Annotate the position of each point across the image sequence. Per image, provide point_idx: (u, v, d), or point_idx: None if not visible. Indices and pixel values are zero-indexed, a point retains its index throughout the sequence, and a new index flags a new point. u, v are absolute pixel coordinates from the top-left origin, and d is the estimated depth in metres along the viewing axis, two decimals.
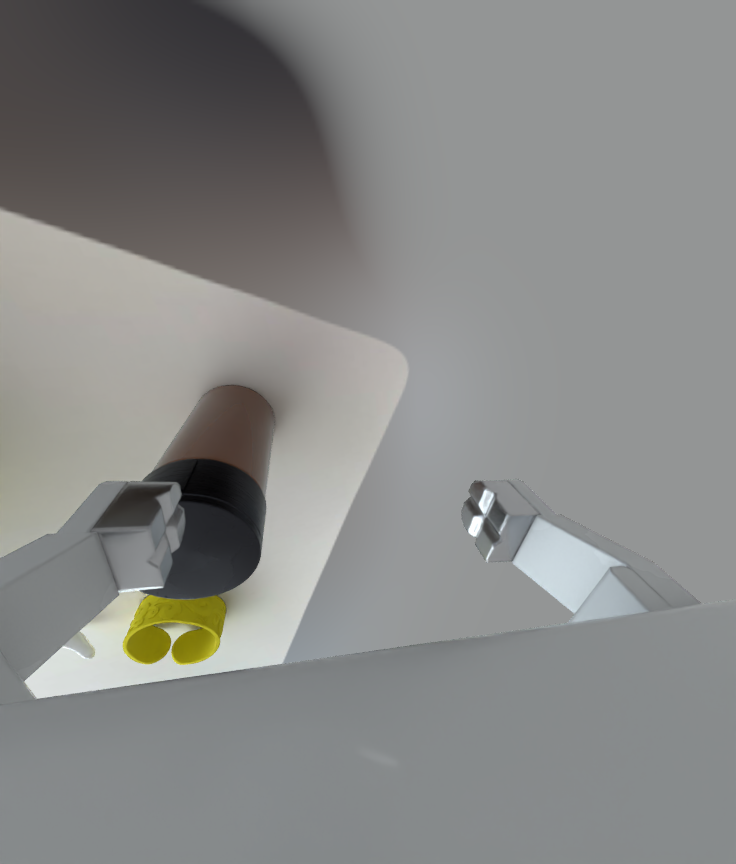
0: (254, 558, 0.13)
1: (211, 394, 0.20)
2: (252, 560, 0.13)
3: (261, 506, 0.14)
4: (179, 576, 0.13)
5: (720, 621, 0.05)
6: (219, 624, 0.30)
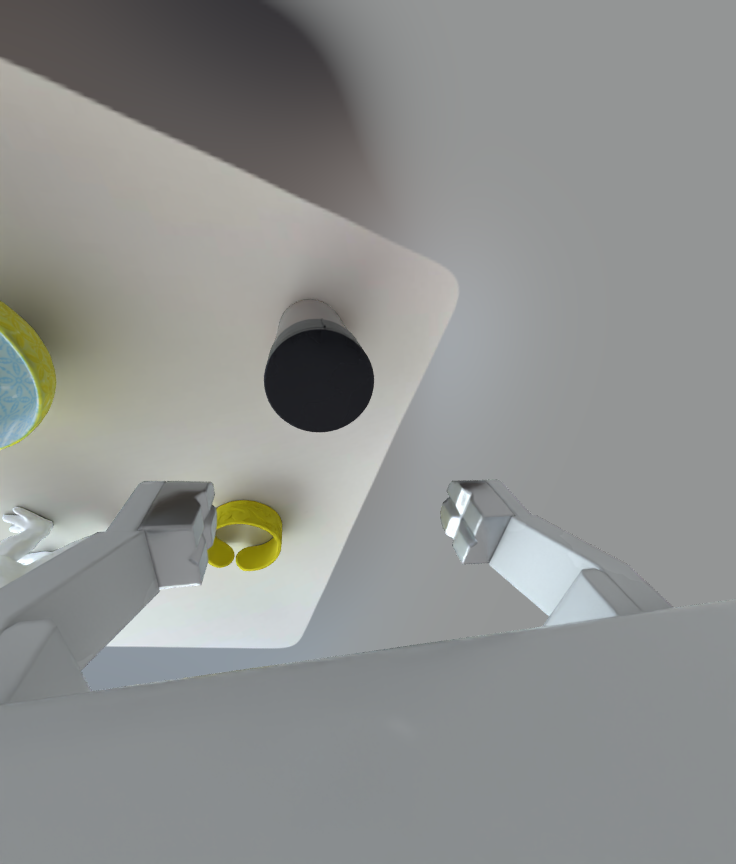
0: (367, 395, 0.17)
1: (298, 303, 0.24)
2: (365, 397, 0.17)
3: None
4: (311, 406, 0.17)
5: (720, 621, 0.05)
6: (280, 534, 0.34)
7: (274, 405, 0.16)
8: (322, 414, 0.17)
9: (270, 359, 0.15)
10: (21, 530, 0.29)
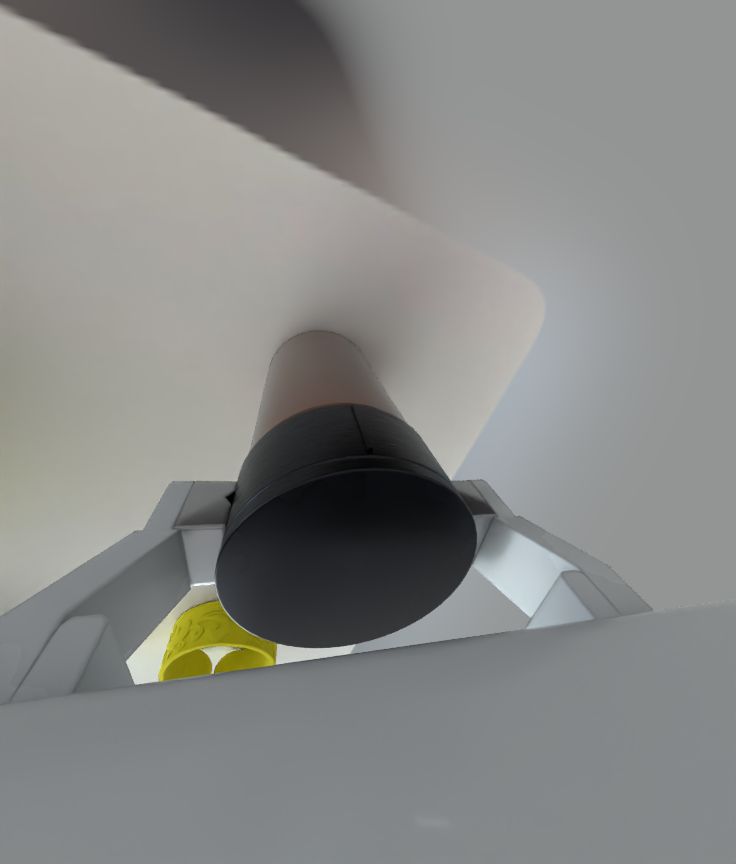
0: (456, 578, 0.08)
1: (300, 339, 0.14)
2: (452, 581, 0.08)
3: None
4: (332, 611, 0.07)
5: (720, 621, 0.05)
6: (274, 645, 0.24)
7: (244, 623, 0.07)
8: (355, 620, 0.08)
9: (227, 545, 0.06)
10: None
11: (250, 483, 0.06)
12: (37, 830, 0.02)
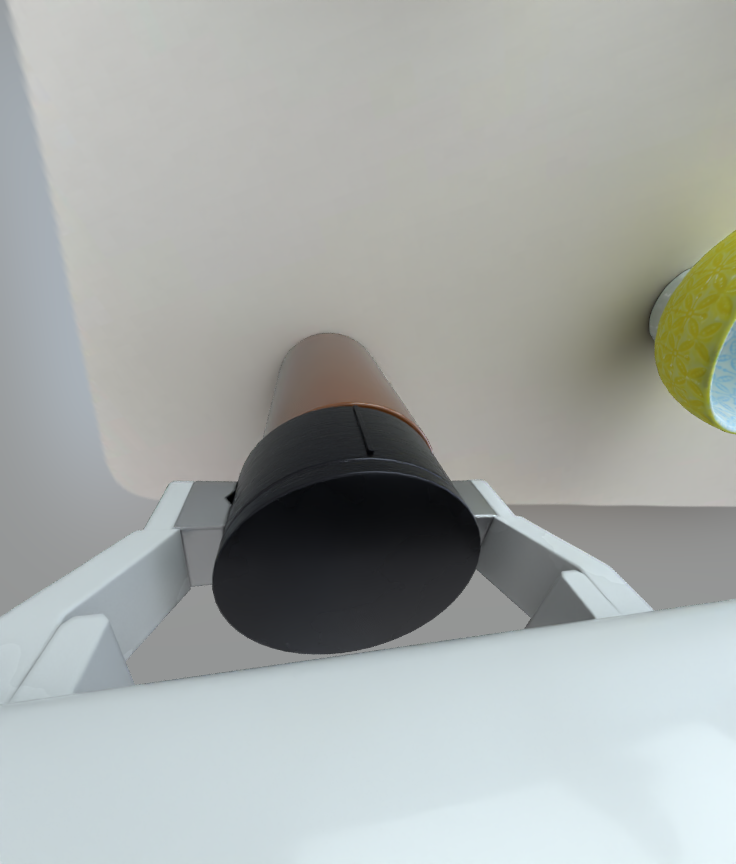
0: (459, 584, 0.07)
1: None
2: (455, 587, 0.07)
3: None
4: (331, 617, 0.07)
5: (720, 621, 0.05)
6: None
7: (242, 628, 0.07)
8: (356, 626, 0.07)
9: (225, 548, 0.05)
10: None
11: (249, 485, 0.06)
12: (37, 830, 0.02)
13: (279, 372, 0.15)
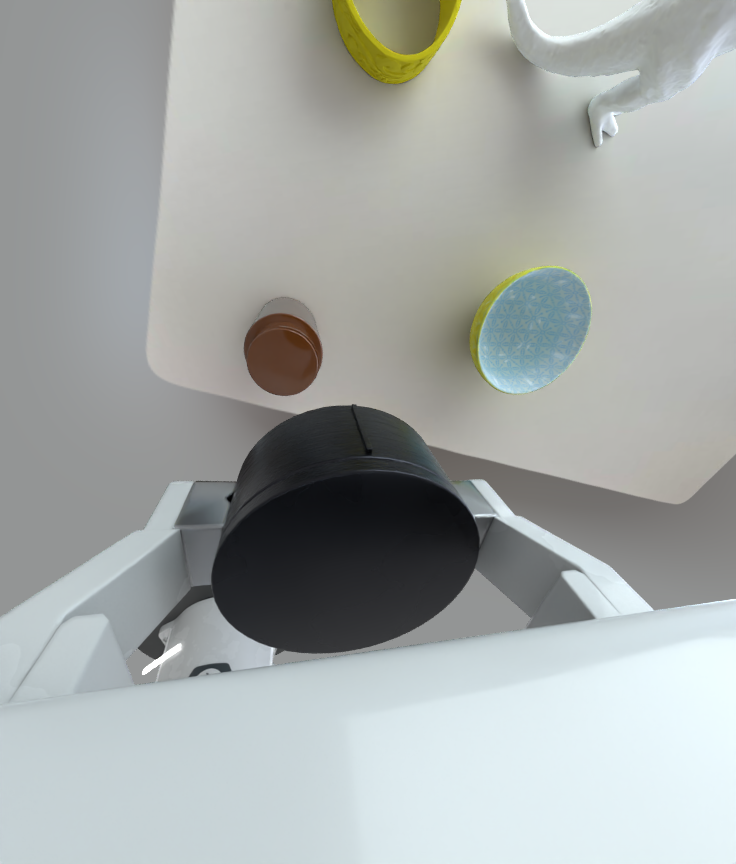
0: (458, 583, 0.07)
1: None
2: (454, 586, 0.07)
3: None
4: (331, 616, 0.07)
5: (720, 621, 0.05)
6: None
7: (242, 627, 0.07)
8: (355, 625, 0.07)
9: (223, 548, 0.05)
10: None
11: (248, 485, 0.06)
12: (37, 830, 0.02)
13: None
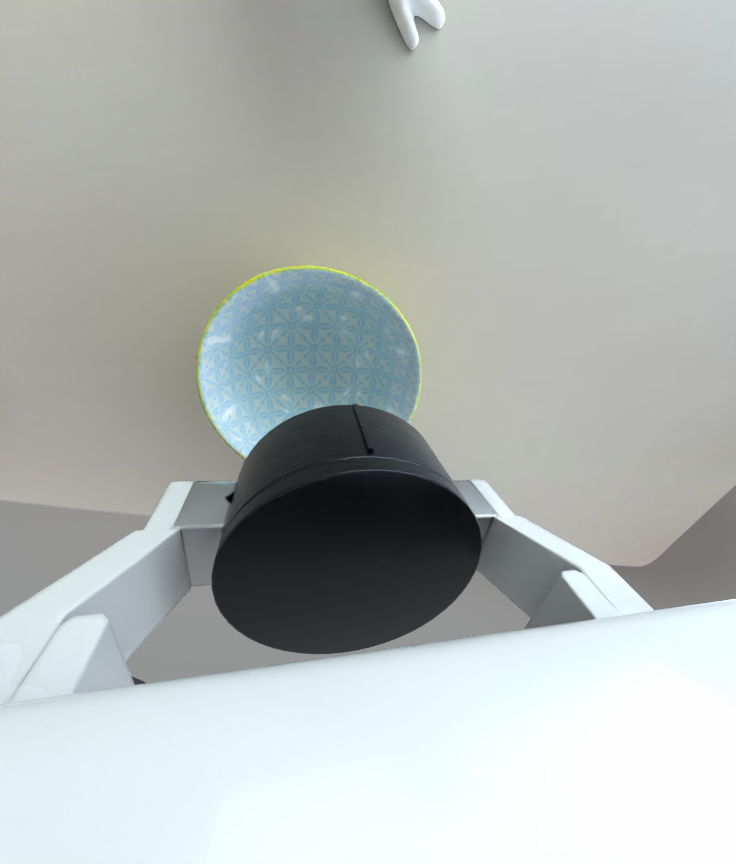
0: (460, 583, 0.07)
1: None
2: (456, 587, 0.07)
3: None
4: (332, 616, 0.07)
5: (720, 621, 0.05)
6: None
7: (242, 627, 0.07)
8: (356, 625, 0.07)
9: (224, 548, 0.05)
10: None
11: (248, 484, 0.06)
12: (37, 830, 0.02)
13: None
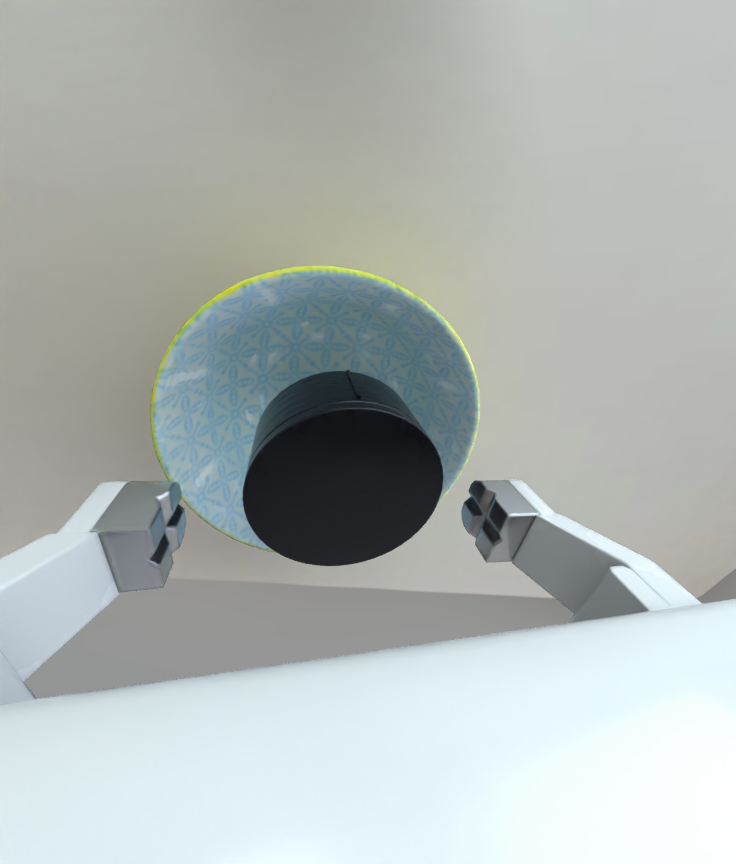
0: (429, 507, 0.10)
1: None
2: (426, 510, 0.10)
3: None
4: (330, 530, 0.09)
5: (720, 621, 0.05)
6: None
7: (263, 535, 0.09)
8: (349, 540, 0.10)
9: (253, 465, 0.08)
10: None
11: (268, 425, 0.08)
12: (37, 830, 0.02)
13: None
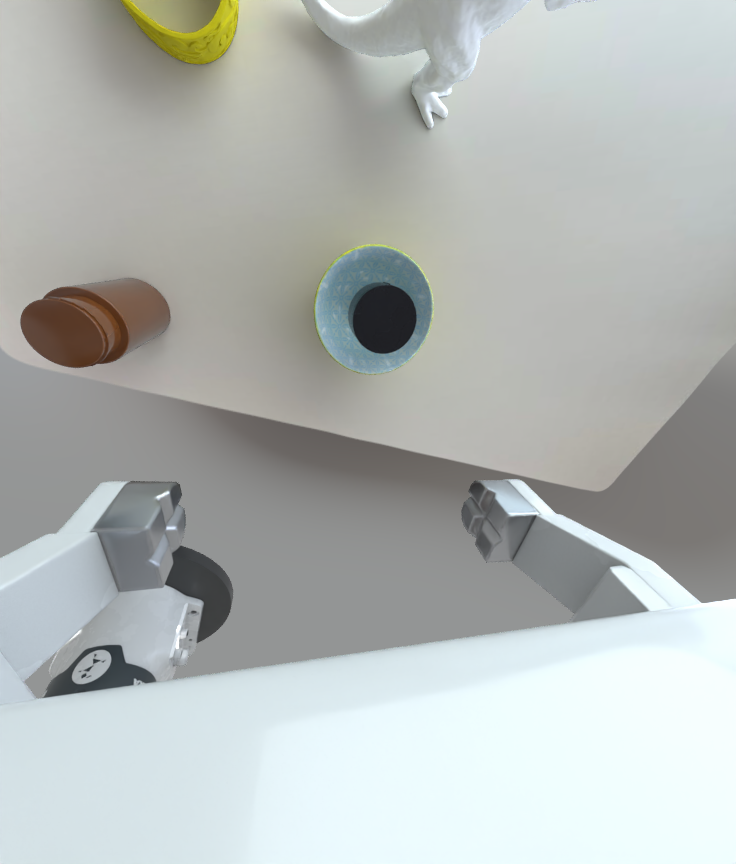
0: (412, 329, 0.27)
1: None
2: (411, 330, 0.27)
3: None
4: (378, 335, 0.27)
5: (720, 621, 0.05)
6: None
7: (356, 333, 0.27)
8: (384, 341, 0.27)
9: (358, 303, 0.25)
10: None
11: (360, 294, 0.26)
12: (37, 830, 0.02)
13: None
